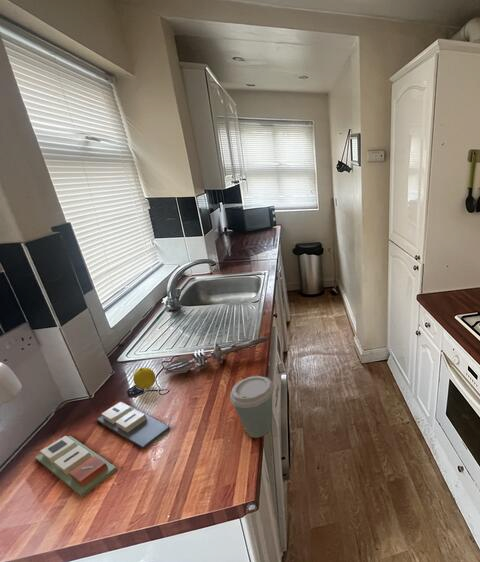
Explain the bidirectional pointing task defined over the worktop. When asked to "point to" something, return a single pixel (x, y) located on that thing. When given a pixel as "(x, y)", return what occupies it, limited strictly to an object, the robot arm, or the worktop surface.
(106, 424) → the strip
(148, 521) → the worktop surface
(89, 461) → the brown flat square block
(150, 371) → the lemon
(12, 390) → the robot arm
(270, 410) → the disposable coffee cup
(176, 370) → the spaceship
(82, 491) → the green word strip
